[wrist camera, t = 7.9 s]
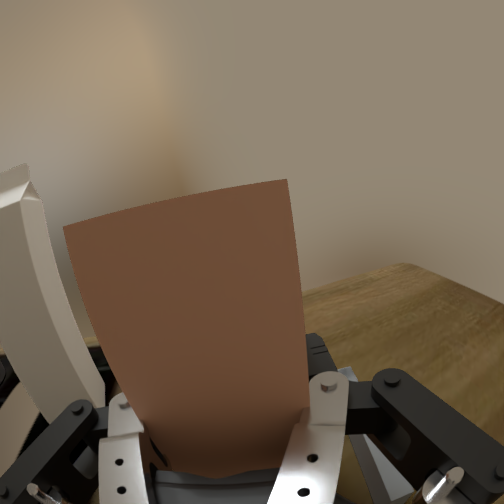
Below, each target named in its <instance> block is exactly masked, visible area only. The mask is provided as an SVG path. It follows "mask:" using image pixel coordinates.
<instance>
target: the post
mask: <svg viewBox="0 0 504 504" xmlns="http://www.w3.org/2000/svg"><path fill="white" fill-rule="evenodd" d="M63 230H64V235H65V239H66V243H67V248H68V252H69V256H70V260H71V263H72V266H73V270H74V274H75V277H76V281H77V284H78V287H79V290H80V293H81V296H82V299H83V302H84V305H85V308H86V310H87V313H88V316H89V318H90V321H91V324H92V326H93V329H94V331H95V334H96V336H97V339H98V341H99V343H100V346H101V348H102V350H103V353H104V355H105V357H106V359H107V361H108V363H109V365H110V368H111V370H112V372H113V374H114V376H115V378H116V380H117V382H118V384H119V385H120V387H121V389H122V391H123V393H124V395H125V397H126V398H127V400H128V402H129V404H130V406H131V407H132V409H133V411H134V412H135V414H136V416H137V417H138V419H142V420H143V421H144V423H145V424H146V426H147V427H148V430H149V436H150V438H151V439H152V441H153V442H154V444H155V445H156V447H157V448H158V450H159V451H160V452H161V454H166V456H167V457H168V459H169V460H170V463H171V467H172V469H173V470H174V471H175V472H186V473H190V474H195V475H199V476H203V477H208V478H213V479H218V478H223V477H227V476H231V475H235V474H239V473H243V472H247V471H252V470H262V469H270V468H278V467H281V465H282V462H283V459H284V456H285V453H286V450H287V447H288V443H289V440H290V437H291V434H292V430H293V427H294V425H295V424H296V423H299V421H300V418H301V414H302V410H303V408H305V407H310V393H309V376H308V361H307V348H306V335H305V324H304V313H303V302H302V292H301V283H300V274H299V265H298V256H297V248H296V240H295V232H294V226H293V217H292V211H291V203H290V196H289V190H288V183H287V179H282V180H275V181H268V182H261V183H255V184H249V185H242V186H237V187H231V188H225V189H219V190H214V191H208V192H203V193H198V194H193V195H188V196H183V197H178V198H174V199H169V200H164V201H160V202H155V203H151V204H146V205H142V206H138V207H134V208H130V209H125V210H122V211H118V212H114V213H110V214H106V215H102V216H99V217H95V218H91V219H88V220H84V221H81V222H77V223H74V224H70V225H67V226H64V227H63Z"/></svg>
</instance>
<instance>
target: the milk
mask: <svg viewBox="0 0 504 504" xmlns="http://www.w3.org/2000/svg"><path fill="white" fill-rule="evenodd" d="M0 343H1V345H2V348H3V350H4V352H5V354H6V356H7V358H8V360H9V361H10V363H11V365H12V367H13V369H14V371H15V372H16V374H17V376H18V378H19V379H20V381H21V383H22V384H23V386H24V388H25V389H26V391H27V393H28V394H29V396H30V397H31V399H32V400H33V402H34V403H35V405H36V406H37V408H38V409H39V411H40V412H41V413H42V415H43V416H44V418H45V419H46V420H47V422H48V423H49V424H51V423H52V422H53V421H54V420H55V419H56V418H57V417H58V416H59V415H60V414H61V413H62V412H63V410H64V409H65V408H66V407H67V406H68V405H69V404H71V403H72V402H74V401H76V400H80V399H85V400H88V401H90V402H91V403H92V405H93V407H94V408H100V407H105V384H104V382H103V380H102V378H101V376H100V374H99V372H98V370H97V368H96V366H95V364H94V362H93V360H92V358H91V356H90V354H89V352H88V349H87V347H86V345H85V343H84V340H83V338H82V336H81V334H80V331H79V329H78V326H77V324H76V321H75V319H74V316H73V314H72V311H71V308H70V306H69V303H68V300H67V297H66V294H65V291H64V288H63V285H62V282H61V279H60V276H59V272H58V269H57V265H56V262H55V258H54V254H53V250H52V246H51V242H50V238H49V234H48V229H47V223H46V218H45V213H44V207H43V202H42V200H41V198H40V197H39V195H38V193H37V192H36V190H35V188H34V186H33V185H32V183H31V181H30V175H29V166H28V165H27V164H26V163H24V164H21V165H19V166H16V167H14V168H11V169H9V170H7V171H4V172H2V173H0Z"/></svg>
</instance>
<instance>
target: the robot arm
mask: <svg viewBox="0 0 504 504" xmlns="http://www.w3.org/2000/svg"><path fill="white" fill-rule="evenodd" d="M306 348H307V361H308V376H309V393H310V407H305V408H303V410H302V414H301V418H300V421H299V423H296V424H295V425H294V427H293V430H292V434H291V437H290V440H289V443H288V447H287V450H286V453H285V456H284V459H283V462H282V465H281V467H278V468H270V469H262V470H252V471H247V472H243V473H239V474H235V475H231V476H227V477H223V478H218V479H213V478H208V477H203V476H199V475H195V474H190V473H186V472H174V471H172V467H171V463H170V460H169V459H168V457H167V456H166V454H161V452H160V451H159V450H158V448H157V447H156V445H155V444H154V442H153V441H152V439H151V438H150V436H149V430H148V427H147V426H146V424H145V423H144V421H143V420H142V419H138V417H137V416H136V414H135V412H134V411H133V409H132V407H131V406H130V404H129V402H128V400H127V398H126V397H125V395H124V393H120V394H118V395H116V396H115V397H114V398H113V399H112V400H111V401H110V403H109V406H106V407H100V408H94V407H93V405H92V403H91V402H90V401H88V400H85V399H80V400H76V401H74V402H72V403H71V404H69V405H68V406H67V407H66V408H65V409H64V410H63V412H62V413H61V414H60V415H59V416H58V417H57V418H56V419H55V420H54V421H53V422H52V423H51V424H50V425H49V426H48V427H47V428H46V429H45V430H44V431H43V432H42V433H41V434H40V435H39V437H38V438H37V439H36V440H35V441H34V442H33V443H32V444H31V445H30V446H29V447H28V448H27V449H26V450H25V451H24V453H23V454H22V455H21V456H20V457H19V458H18V459H17V460H16V461H15V462H14V463H13V464H12V466H11V467H10V468H9V469H8V470H7V471H6V472H5V473H4V474H3V475H2V477H1V478H0V504H86V503H87V502H88V500H89V499H90V498H91V496H92V495H93V493H94V492H95V490H96V489H97V488H98V486H99V498H100V504H355V503H353V502H351V501H350V500H348V499H346V498H344V497H342V496H341V495H339V494H337V493H336V487H337V482H338V476H339V470H340V464H341V457H342V450H343V443H344V435H359V434H366V435H367V437H368V438H369V439H370V440H371V441H372V442H373V444H374V445H375V446H376V447H377V448H378V449H379V450H380V451H381V453H382V454H383V455H384V456H385V457H386V458H387V459H388V460H389V462H390V463H391V464H392V465H393V466H394V467H395V468H396V469H397V470H398V472H399V473H400V474H401V475H402V476H403V477H404V478H405V479H406V480H407V481H408V482H409V484H410V485H411V486H412V487H413V488H414V489H415V490H416V491H417V493H416V494H415V495H414V498H413V500H412V504H492V503H494V502H495V501H496V500H497V499H498V498H500V497H501V496H502V495H503V494H504V446H502V445H501V444H500V443H498V442H497V441H496V440H494V439H493V438H492V437H490V436H489V435H488V434H486V433H485V432H484V431H482V430H481V429H480V428H478V427H477V426H476V425H475V424H473V423H472V422H471V421H469V420H468V419H467V418H465V417H464V416H463V415H461V414H460V413H459V412H457V411H456V410H455V409H453V408H452V407H451V406H449V405H448V404H447V403H445V402H444V401H443V400H442V399H440V398H439V397H438V396H436V395H435V394H434V393H432V392H431V391H430V390H428V389H427V388H426V387H424V386H423V385H422V384H420V383H419V382H418V381H417V380H415V379H414V378H413V377H411V376H410V375H409V374H407V373H406V372H404V371H403V370H400V369H395V368H389V369H384V370H382V371H379V372H378V373H377V374H375V376H374V377H373V380H372V381H364V382H356V381H350V380H348V378H347V377H346V376H345V375H343V374H342V373H339V372H338V370H337V368H336V366H335V364H334V362H333V360H332V358H331V356H330V354H329V352H328V349H327V347H326V346H325V343H324V341H323V339H322V338H321V337H320V336H318V335H317V334H315V333H311V334H306ZM4 376H5V369H4V367H3V365H2V363H1V361H0V383H1V382H2V380H3V379H4ZM82 439H83V440H84V441H85V442H86V444H87V445H88V447H87V448H86V449H85V450H84V452H83V453H82V454H81V455H80V457H79V458H78V459H77V460H76V462H75V463H74V464H73V465H72V464H71V462H70V460H69V455H70V453H71V452H72V450H73V449H74V448H75V447H76V446H77V444H78V443H79V442H80V441H81V440H82Z"/></svg>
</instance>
